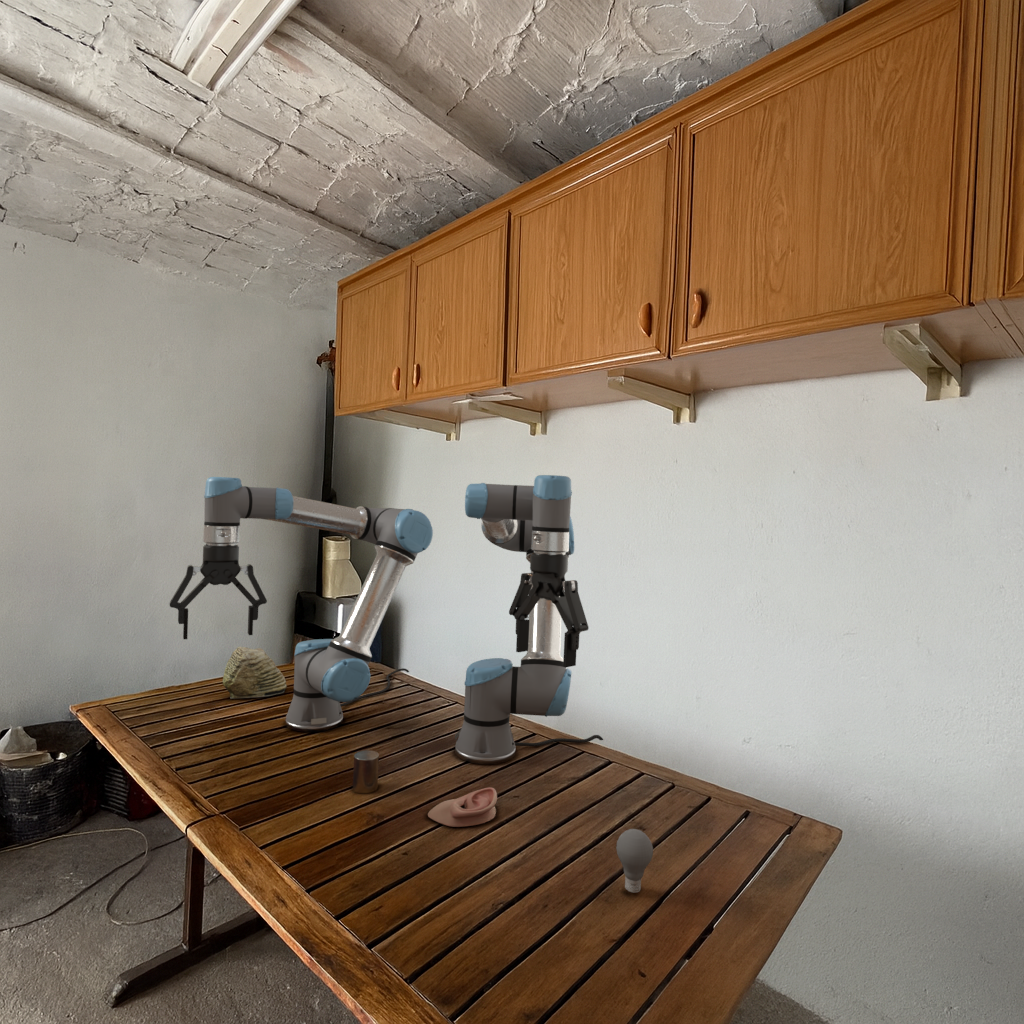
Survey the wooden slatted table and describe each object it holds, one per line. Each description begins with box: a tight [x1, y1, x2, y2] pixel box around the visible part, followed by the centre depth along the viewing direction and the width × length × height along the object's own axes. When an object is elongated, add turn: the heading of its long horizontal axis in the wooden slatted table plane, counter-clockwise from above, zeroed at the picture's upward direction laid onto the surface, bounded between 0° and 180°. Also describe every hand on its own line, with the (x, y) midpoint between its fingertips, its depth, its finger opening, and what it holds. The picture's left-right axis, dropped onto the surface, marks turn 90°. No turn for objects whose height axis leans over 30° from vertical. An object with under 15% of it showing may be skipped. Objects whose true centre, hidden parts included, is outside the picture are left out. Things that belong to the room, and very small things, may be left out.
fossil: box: [222, 646, 288, 699], centre depth 198 cm, size 9×18×15 cm, turn 132°
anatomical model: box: [427, 787, 498, 828], centre depth 129 cm, size 13×4×12 cm
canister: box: [352, 749, 380, 794], centre depth 139 cm, size 5×5×7 cm
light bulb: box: [615, 828, 654, 894], centre depth 106 cm, size 6×6×10 cm
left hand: (218, 636), depth 146 cm, fingers open, 13 cm apart
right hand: (544, 658), depth 127 cm, fingers open, 13 cm apart
